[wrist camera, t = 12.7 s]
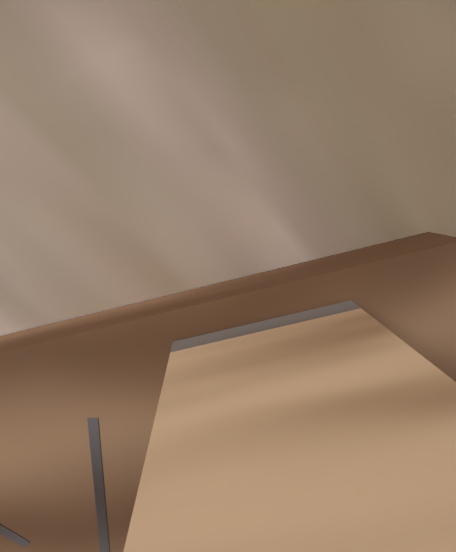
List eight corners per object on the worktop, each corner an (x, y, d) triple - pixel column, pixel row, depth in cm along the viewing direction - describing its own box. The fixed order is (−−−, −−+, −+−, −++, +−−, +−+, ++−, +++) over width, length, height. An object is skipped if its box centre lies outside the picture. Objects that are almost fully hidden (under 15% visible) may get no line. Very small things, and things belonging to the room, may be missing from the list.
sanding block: (172, 341, 9) (103, 637, 3) (351, 300, 9) (627, 516, 3) (235, 549, 11) (264, 954, 5) (378, 516, 11) (571, 887, 5)
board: (-257, 398, 10) (-337, 434, 9) (428, 232, 10) (466, 239, 9) (-71, 639, 13) (-105, 695, 12) (444, 512, 13) (474, 552, 12)
